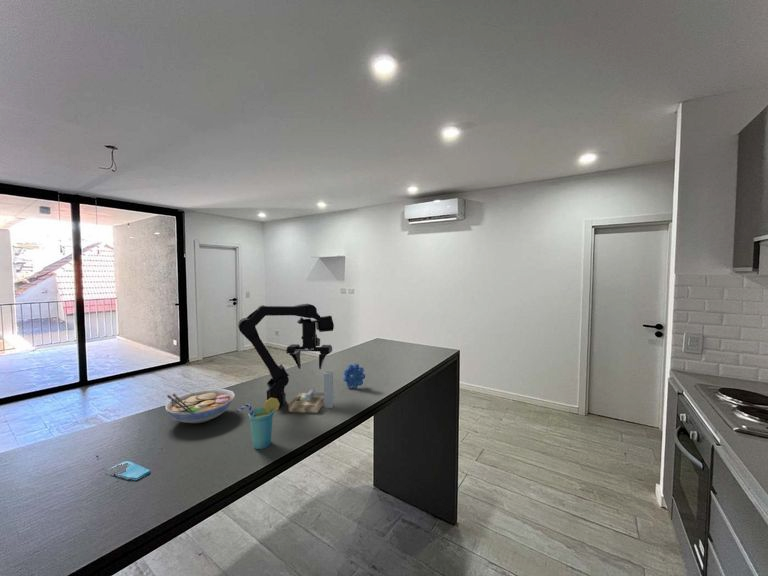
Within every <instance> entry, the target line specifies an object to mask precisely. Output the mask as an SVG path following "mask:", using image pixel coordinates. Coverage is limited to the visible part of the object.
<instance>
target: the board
mask: <svg viewBox="0 0 768 576" xmlns="http://www.w3.org/2000/svg"><path fill="white" fill-rule="evenodd" d="M307 393H308V392H298V394H297V395H296V396H295V397H294V398H293V399H292V400H291V401H290V402H289V403H287V404H288V406H287V407H288V413H289V412H290V413H306V412H307V413H310V414H317V413H319V411H320V410H321V408H322V407H323V406H324V396H314V397H313V398H312V399H311V400H310V401H300V398H301V396H303V395H306V394H307Z"/></svg>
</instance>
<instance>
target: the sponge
mask: <svg viewBox="0 0 768 576" xmlns="http://www.w3.org/2000/svg"><path fill="white" fill-rule="evenodd" d="M125 463H128V465H129V464H130V465H129V466H128V465H127V466H128V467H127V468H126V472H124V473H122V474H118V475H119V476H124V477H126V478H133V479H138V478H140V477H142V476H144V475H146V474H148V473H150V472H151V470H150V468H146V467H145V466H142V465H139V464H137V463H135V462H133V461H130V460H125V461H123V462H120V463H118V464H116V465H114V466H112V467H111V468H114V467H116V466H117V465H121V464H122V465H123V464H125ZM111 468H108V469H107V470H109V469H111ZM150 474H151V473H150ZM148 475H149V474H148ZM146 476H147V475H146ZM144 477H145V476H144Z"/></svg>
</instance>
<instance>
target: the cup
mask: <svg viewBox="0 0 768 576" xmlns="http://www.w3.org/2000/svg"><path fill="white" fill-rule="evenodd" d="M279 405H280V403H279V401H278V399H276V398H270V399H268V400H267V399H266V401H265V402H264V406H263V407H259V408H255V409H253V408H252V406H251V404H249V403H245V404H244V405H242V406H241V407H239V408H237V409H236V411H237V412H240V411H242V410H244V409H246V408H248V411H249V412H248V414H247V415H248V418H249V423H250V430H251V431H250V432H251V439H252V447H253V449H255V450H263V449H267V448H269V446H270V445H271V444H272V431H273V417H274V415H275V413H276V412H277V411H279V409H280V408H279Z"/></svg>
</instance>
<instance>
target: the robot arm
mask: <svg viewBox="0 0 768 576" xmlns="http://www.w3.org/2000/svg"><path fill="white" fill-rule="evenodd" d="M317 310H318V309H317V308H316V306H315V305H313V304H311V303H302V304H297V305H289V306H288V305H264V304H262V305H259V306H258V307H257V309H255V310H254V311H252V312H251V313H250V314H249V315H247V317H243V318H241V319H239V321H238V323H237V327H238V330H239V332H240V333H241V335H243V336H244V337H245V338H246V339H247V340H248V341H249V342H250V343H251V345H252V346H253V348H254V349H255V351H256V352H257V353H258V355H259V357H260V358H261V360H262V361H263V363H264V365H265V367H266V368H267V369H268V373H269V374H270V377H271V378H270V379H269V380H268V382H267V383H266V385H267V387H268V389H267V390H266V401H267V400H268V399H270V398H276V399H278V401H279V403H280V405H279V408H278V409H280V408H282V406H284V405H285V404H286V402H287V400H286V392H285V388H286V386H288V383H290V378H289V376H290V374H289V373H288V372H287V370H286V369H285V367H284V365H283V364H280V365H278V364H277V363H276V361H275V360H274V358H273V357H272V355H271V353H270V352H269V350H268V349H267V347H266V345H265V344H264V343H263V341H262V339H261V337H260V335H259V333H258V330H257V328H256V327H257V325H258V324H260V322H261V321H262V320H263V319H264V318H265V317H266V316H267V317H268V316H295V317H300V318H299V319H298V320H297V324H298V325H301V328H302V329H301V331H302V333H301V334H302V335H301V337H300V338H301V340H302V345H300V344H298V343H297V344H296V343H295V344H290V345H288V346H287V347H286V349H285V350H286V354H289V356H291V358H292V359H293V360H294V362H295V363H296V366H297V368H298V369H299V370H301V366H302V364H301V363H302V362H301V352H319V354H318V367H319V368H318V369H319V370H321V369H322V367H323V364H324V360H325V359H326V356H328V355H329V354H331V353H332V352H333V347H332V345H331V344H322V345H321V338H319V337H318V334H317V331H318V332H319V333H324V332H333V331H334V329H335V324H334V321H333V316H332V315H326V316H325V315H324V316H320V314H319V313H318V311H317ZM312 319H313V320H312ZM320 345H321V346H320Z"/></svg>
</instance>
